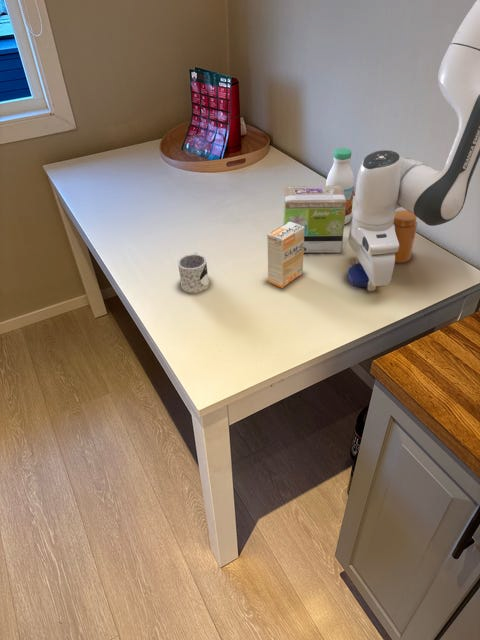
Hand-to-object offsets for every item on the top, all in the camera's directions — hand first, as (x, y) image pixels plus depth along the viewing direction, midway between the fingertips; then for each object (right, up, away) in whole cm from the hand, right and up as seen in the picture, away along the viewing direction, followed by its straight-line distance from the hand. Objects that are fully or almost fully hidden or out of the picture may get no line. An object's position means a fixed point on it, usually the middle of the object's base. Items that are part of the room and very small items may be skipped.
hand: (365, 279), depth 116 cm
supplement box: (-19, 0, +2) cm, 19 cm away
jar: (+10, +7, +7) cm, 14 cm away
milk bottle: (-2, +19, +24) cm, 31 cm away
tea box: (-11, +10, +14) cm, 21 cm away
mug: (-41, 0, +4) cm, 41 cm away
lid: (-1, +1, -1) cm, 2 cm away
